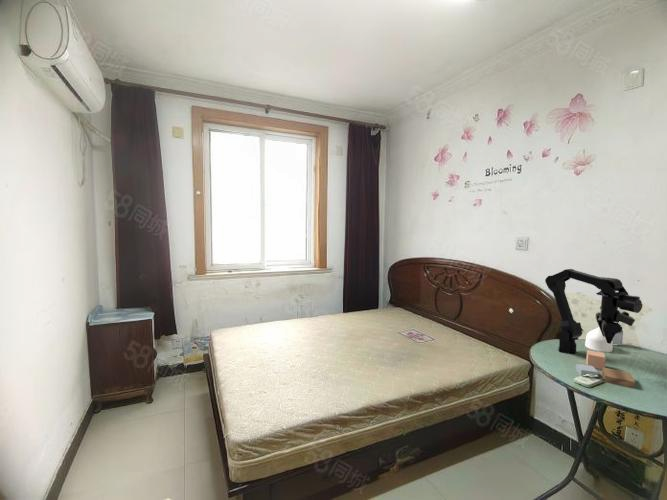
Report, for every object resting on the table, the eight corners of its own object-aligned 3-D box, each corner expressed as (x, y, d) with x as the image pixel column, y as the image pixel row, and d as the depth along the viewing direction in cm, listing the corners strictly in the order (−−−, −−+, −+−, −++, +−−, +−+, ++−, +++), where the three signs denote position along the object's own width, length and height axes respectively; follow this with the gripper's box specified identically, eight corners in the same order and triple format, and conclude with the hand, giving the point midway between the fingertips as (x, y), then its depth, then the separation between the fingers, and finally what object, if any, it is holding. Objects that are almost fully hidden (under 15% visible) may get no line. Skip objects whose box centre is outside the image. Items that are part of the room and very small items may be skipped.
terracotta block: (587, 367, 141) (588, 354, 141) (586, 362, 146) (586, 349, 146) (604, 370, 138) (605, 357, 137) (602, 365, 143) (603, 352, 142)
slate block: (580, 376, 134) (581, 369, 133) (575, 370, 139) (575, 363, 139) (598, 378, 132) (598, 372, 131) (592, 372, 137) (592, 365, 137)
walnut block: (604, 382, 129) (605, 375, 128) (601, 373, 136) (602, 367, 136) (634, 389, 124) (635, 381, 123) (629, 379, 131) (630, 372, 131)
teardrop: (618, 352, 156) (620, 329, 155) (593, 351, 157) (595, 328, 156) (603, 343, 167) (604, 322, 165) (580, 343, 168) (581, 321, 167)
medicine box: (617, 343, 167) (618, 327, 166) (622, 346, 163) (623, 330, 162) (599, 341, 169) (600, 326, 169) (603, 344, 165) (604, 329, 164)
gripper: (640, 314, 127) (636, 351, 129) (627, 303, 143) (624, 336, 145) (604, 310, 133) (602, 345, 135) (596, 300, 149) (594, 331, 151)
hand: (606, 339), depth 141 cm, fingers open, 9 cm apart
